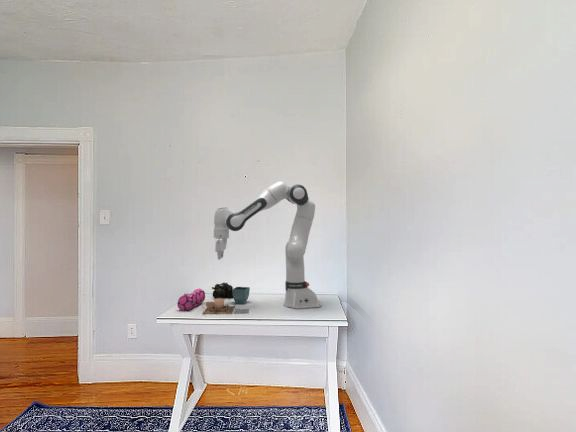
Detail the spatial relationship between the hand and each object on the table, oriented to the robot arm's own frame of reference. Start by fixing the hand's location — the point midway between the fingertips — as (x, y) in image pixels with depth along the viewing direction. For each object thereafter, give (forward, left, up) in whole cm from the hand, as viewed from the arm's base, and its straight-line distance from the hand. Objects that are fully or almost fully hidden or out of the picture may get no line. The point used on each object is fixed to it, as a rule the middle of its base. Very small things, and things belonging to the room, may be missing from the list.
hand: (220, 258), depth 205 cm
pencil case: (+17, -1, -29) cm, 33 cm away
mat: (-13, +12, -28) cm, 33 cm away
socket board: (0, +8, -28) cm, 29 cm away
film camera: (+2, -23, -29) cm, 37 cm away
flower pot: (-11, -9, -29) cm, 32 cm away
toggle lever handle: (0, +8, -28) cm, 29 cm away
